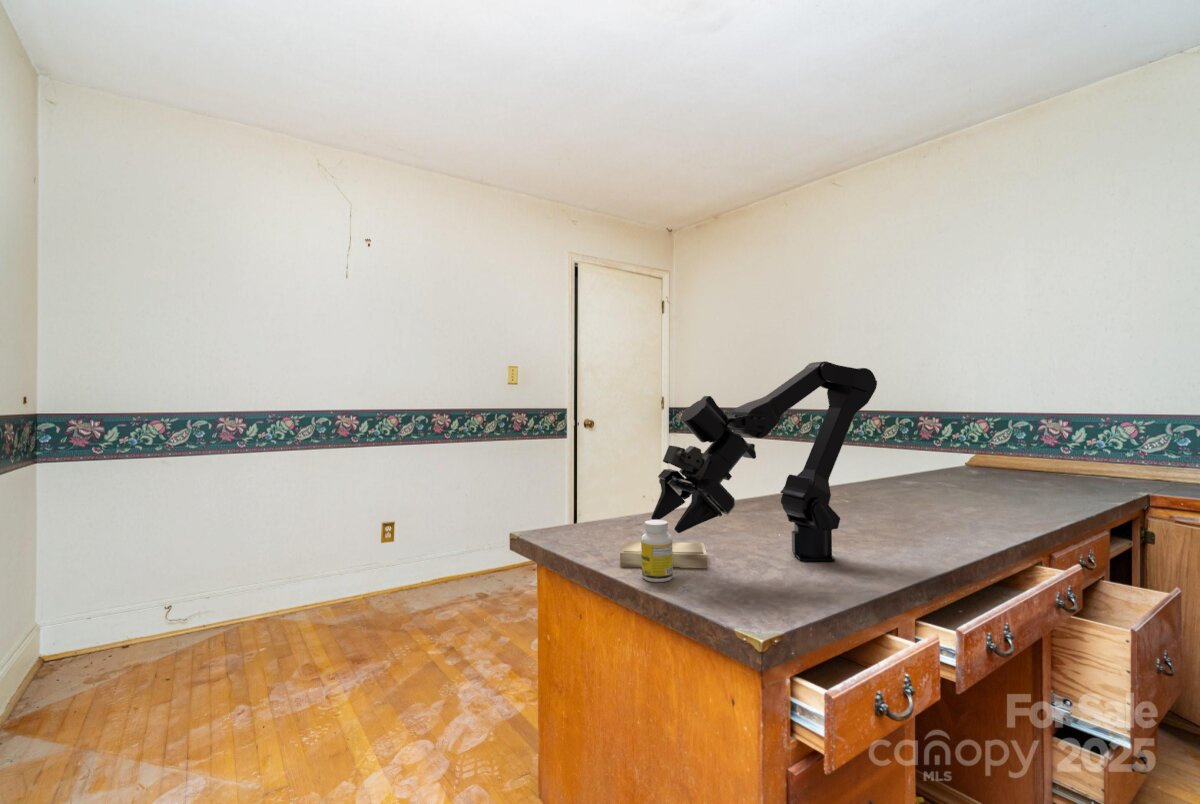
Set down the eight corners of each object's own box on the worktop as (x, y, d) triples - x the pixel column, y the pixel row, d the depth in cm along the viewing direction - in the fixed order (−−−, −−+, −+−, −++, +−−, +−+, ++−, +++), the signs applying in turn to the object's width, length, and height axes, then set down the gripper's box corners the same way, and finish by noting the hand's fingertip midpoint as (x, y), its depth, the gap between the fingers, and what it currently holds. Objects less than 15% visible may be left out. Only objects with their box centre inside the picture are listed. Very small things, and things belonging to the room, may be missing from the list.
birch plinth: (703, 555, 107) (703, 542, 107) (707, 568, 99) (706, 553, 99) (623, 554, 109) (623, 540, 109) (620, 566, 101) (620, 552, 101)
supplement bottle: (639, 573, 97) (638, 519, 97) (669, 572, 97) (668, 518, 97) (644, 583, 92) (643, 526, 92) (676, 582, 92) (675, 524, 92)
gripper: (667, 427, 106) (614, 487, 102) (718, 432, 88) (657, 504, 84) (703, 465, 108) (653, 525, 104) (759, 478, 91) (702, 550, 87)
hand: (664, 525), depth 95 cm, fingers open, 9 cm apart
